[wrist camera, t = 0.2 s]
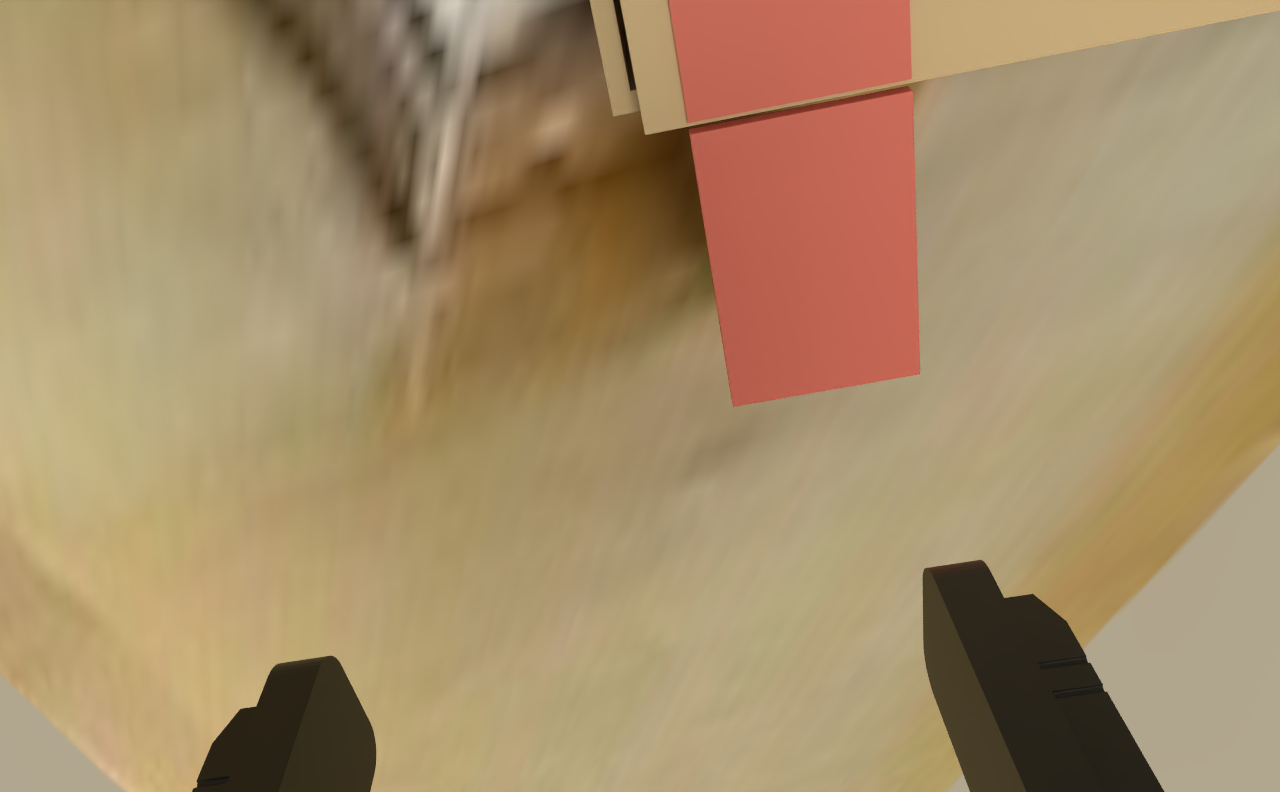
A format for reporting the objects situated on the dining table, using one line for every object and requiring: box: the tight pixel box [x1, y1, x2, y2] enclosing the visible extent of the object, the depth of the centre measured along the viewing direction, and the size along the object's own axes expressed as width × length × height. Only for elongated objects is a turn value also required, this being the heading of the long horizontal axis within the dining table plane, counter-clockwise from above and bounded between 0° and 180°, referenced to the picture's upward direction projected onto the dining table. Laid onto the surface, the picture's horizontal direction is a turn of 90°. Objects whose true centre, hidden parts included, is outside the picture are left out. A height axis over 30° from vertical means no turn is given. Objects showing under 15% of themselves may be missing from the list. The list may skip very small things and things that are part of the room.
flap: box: [620, 0, 1280, 407], centre depth 25 cm, size 19×18×1 cm
